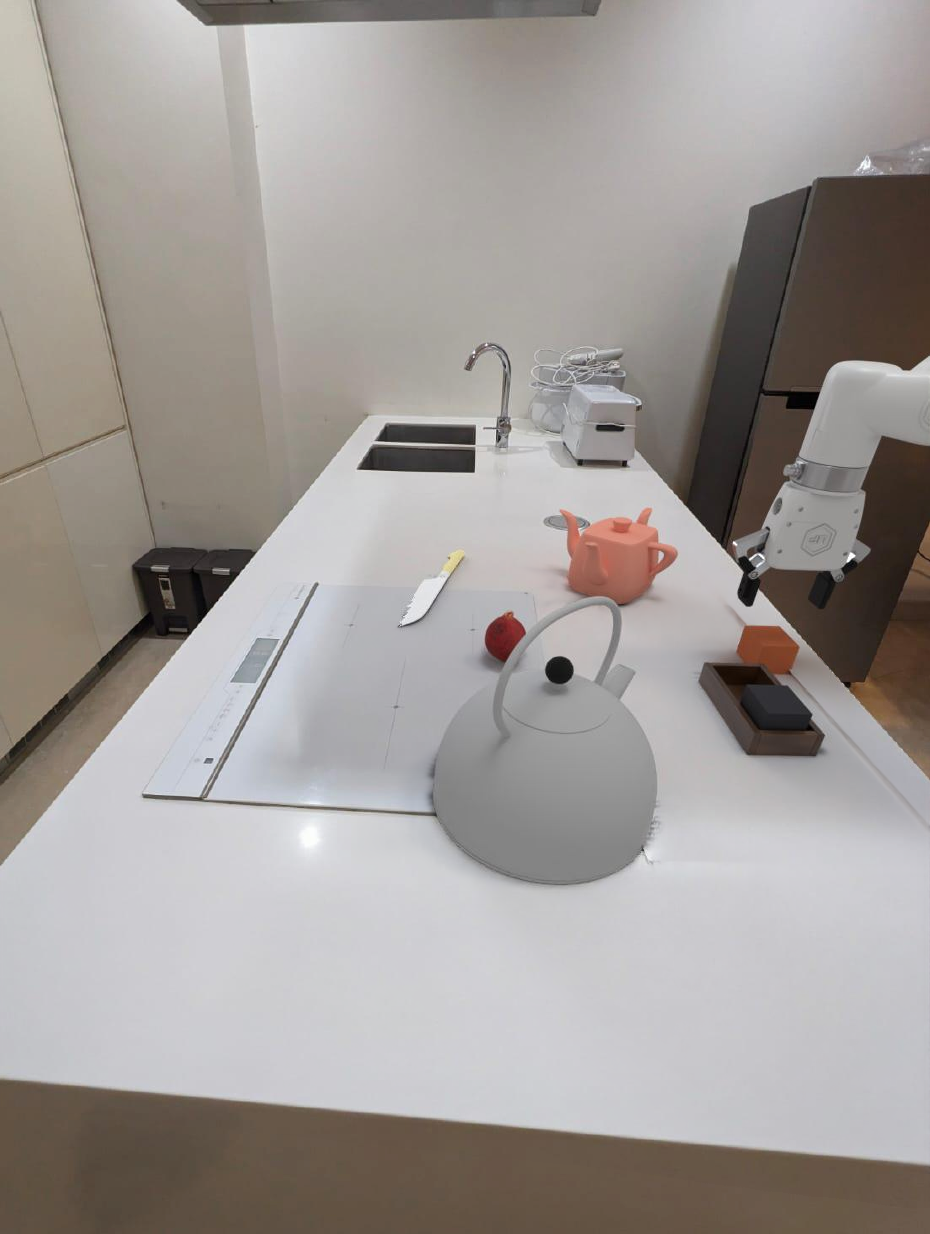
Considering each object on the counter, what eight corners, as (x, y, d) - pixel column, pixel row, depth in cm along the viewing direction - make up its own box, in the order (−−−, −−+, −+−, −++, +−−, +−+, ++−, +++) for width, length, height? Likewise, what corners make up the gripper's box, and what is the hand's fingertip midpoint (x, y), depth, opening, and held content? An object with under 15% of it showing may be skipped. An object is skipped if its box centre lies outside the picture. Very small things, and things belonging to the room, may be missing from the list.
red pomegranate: (503, 676, 87) (508, 625, 83) (474, 659, 91) (478, 609, 86) (532, 663, 90) (538, 612, 86) (503, 647, 94) (507, 598, 89)
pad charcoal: (774, 718, 79) (787, 685, 76) (798, 749, 74) (813, 714, 71) (734, 717, 79) (746, 684, 76) (755, 748, 73) (768, 713, 71)
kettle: (539, 702, 82) (563, 535, 70) (704, 795, 67) (769, 605, 55) (389, 788, 68) (386, 596, 55) (557, 929, 53) (602, 712, 41)
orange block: (768, 655, 93) (779, 625, 90) (788, 677, 88) (800, 646, 85) (734, 655, 93) (744, 625, 90) (752, 677, 88) (763, 645, 85)
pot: (549, 567, 120) (557, 502, 113) (638, 565, 121) (652, 501, 114) (575, 611, 104) (586, 538, 98) (677, 609, 105) (695, 537, 99)
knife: (390, 623, 98) (418, 622, 97) (442, 549, 125) (466, 547, 123) (391, 630, 99) (420, 630, 97) (443, 555, 126) (467, 554, 124)
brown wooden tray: (755, 685, 86) (763, 663, 84) (814, 759, 73) (825, 735, 71) (697, 684, 86) (704, 661, 84) (745, 758, 73) (754, 733, 71)
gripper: (770, 482, 73) (727, 614, 82) (918, 487, 73) (859, 618, 82) (743, 465, 79) (706, 589, 88) (880, 469, 79) (828, 593, 89)
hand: (779, 603), depth 85 cm, fingers open, 9 cm apart
